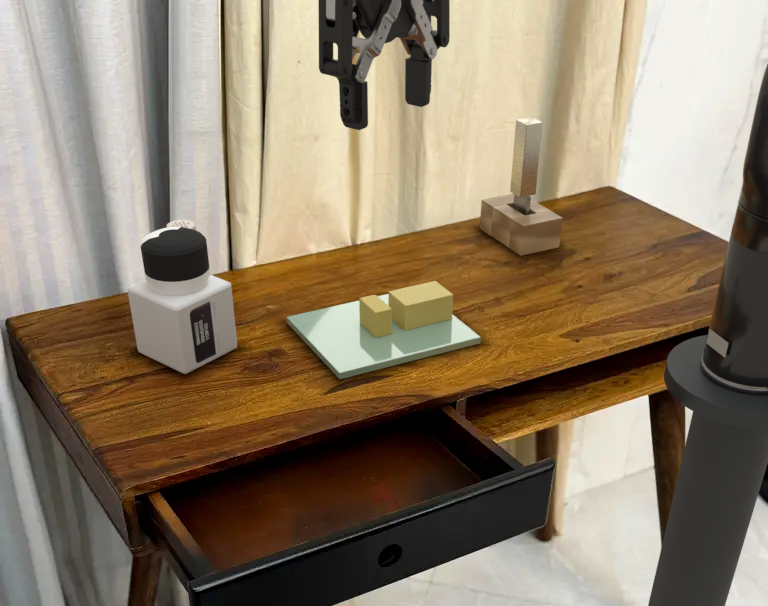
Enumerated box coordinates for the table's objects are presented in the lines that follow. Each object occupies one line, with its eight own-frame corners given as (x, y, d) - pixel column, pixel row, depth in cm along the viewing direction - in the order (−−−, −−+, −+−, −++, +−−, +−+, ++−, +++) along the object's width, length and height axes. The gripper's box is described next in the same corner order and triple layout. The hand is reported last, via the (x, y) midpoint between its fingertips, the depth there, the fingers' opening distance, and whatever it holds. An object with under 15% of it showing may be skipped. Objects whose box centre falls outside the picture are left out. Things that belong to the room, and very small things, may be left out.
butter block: (388, 315, 111) (388, 291, 109) (434, 304, 113) (435, 280, 111) (404, 330, 108) (405, 305, 106) (452, 319, 110) (453, 294, 108)
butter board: (286, 323, 111) (286, 316, 110) (418, 292, 117) (419, 286, 117) (339, 379, 101) (339, 373, 101) (480, 343, 107) (481, 336, 107)
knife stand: (479, 228, 132) (481, 199, 130) (516, 220, 135) (519, 192, 132) (520, 256, 125) (523, 225, 123) (559, 247, 128) (563, 217, 125)
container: (239, 348, 106) (227, 232, 98) (185, 376, 102) (168, 257, 94) (191, 326, 110) (176, 213, 102) (136, 353, 105) (116, 236, 97)
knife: (504, 235, 131) (514, 118, 121) (520, 232, 131) (530, 116, 122) (517, 243, 129) (528, 125, 119) (532, 240, 129) (544, 122, 120)
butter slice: (359, 322, 109) (359, 297, 108) (375, 318, 110) (375, 294, 108) (375, 337, 107) (375, 312, 105) (392, 333, 107) (392, 308, 105)
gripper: (365, -94, 68) (368, 145, 78) (481, -113, 77) (471, 104, 87) (285, -102, 72) (298, 128, 82) (405, -119, 80) (403, 90, 90)
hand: (387, 115), depth 84 cm, fingers open, 8 cm apart
